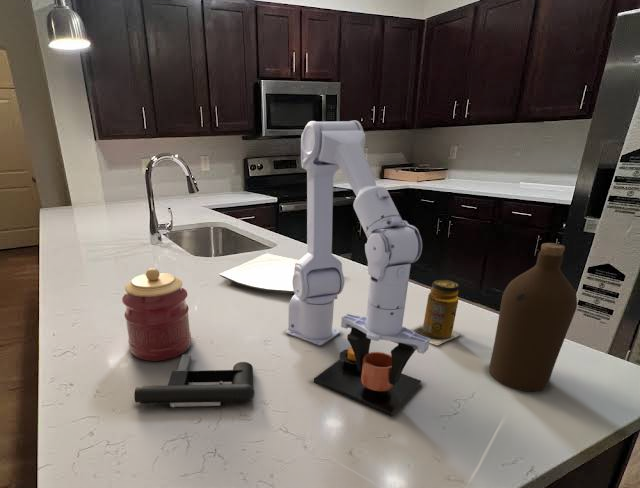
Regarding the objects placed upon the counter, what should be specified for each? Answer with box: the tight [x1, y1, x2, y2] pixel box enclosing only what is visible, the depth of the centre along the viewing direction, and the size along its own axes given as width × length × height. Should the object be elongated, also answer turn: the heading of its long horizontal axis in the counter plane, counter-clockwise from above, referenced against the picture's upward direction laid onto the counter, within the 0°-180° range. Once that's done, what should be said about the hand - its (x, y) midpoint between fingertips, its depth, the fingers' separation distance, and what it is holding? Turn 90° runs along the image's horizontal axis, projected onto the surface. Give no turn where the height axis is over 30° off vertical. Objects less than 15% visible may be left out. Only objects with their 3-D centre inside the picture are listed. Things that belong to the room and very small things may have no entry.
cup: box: [361, 351, 393, 391], centre depth 71 cm, size 5×5×4 cm
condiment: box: [411, 279, 461, 346], centre depth 91 cm, size 7×8×12 cm
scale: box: [313, 348, 422, 417], centre depth 75 cm, size 15×12×2 cm
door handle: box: [133, 353, 255, 408], centre depth 76 cm, size 3×20×16 cm
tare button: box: [347, 346, 356, 361], centre depth 80 cm, size 3×3×2 cm
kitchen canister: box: [121, 267, 192, 362], centre depth 86 cm, size 13×13×18 cm
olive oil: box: [488, 242, 578, 392], centre depth 72 cm, size 11×11×25 cm
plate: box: [219, 253, 299, 294], centre depth 128 cm, size 29×29×3 cm
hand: (377, 375), depth 72 cm, fingers closed on cup, 5 cm apart
